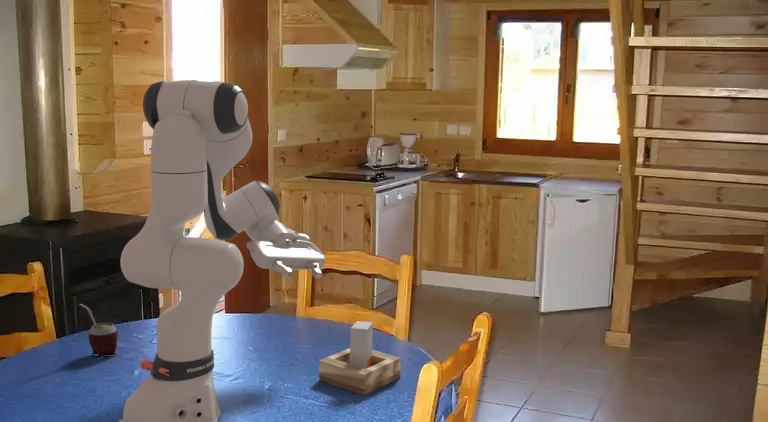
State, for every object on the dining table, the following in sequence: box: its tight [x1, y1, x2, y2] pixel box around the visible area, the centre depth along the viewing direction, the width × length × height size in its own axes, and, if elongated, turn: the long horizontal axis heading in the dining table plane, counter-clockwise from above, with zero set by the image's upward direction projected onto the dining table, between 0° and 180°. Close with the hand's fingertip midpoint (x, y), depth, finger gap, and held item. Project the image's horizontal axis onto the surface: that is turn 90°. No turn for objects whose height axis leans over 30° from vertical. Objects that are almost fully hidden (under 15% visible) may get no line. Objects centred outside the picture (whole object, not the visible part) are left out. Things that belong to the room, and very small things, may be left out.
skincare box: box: [349, 320, 374, 369], centre depth 183 cm, size 6×4×12 cm
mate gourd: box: [78, 303, 119, 358], centre depth 196 cm, size 8×8×15 cm
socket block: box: [318, 347, 402, 396], centre depth 184 cm, size 14×14×5 cm
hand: (304, 275), depth 185 cm, fingers open, 8 cm apart
